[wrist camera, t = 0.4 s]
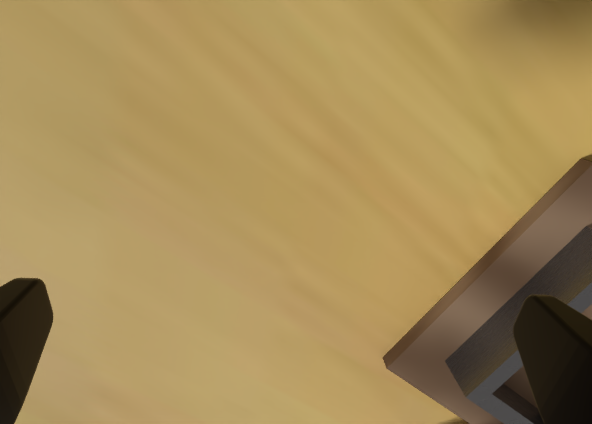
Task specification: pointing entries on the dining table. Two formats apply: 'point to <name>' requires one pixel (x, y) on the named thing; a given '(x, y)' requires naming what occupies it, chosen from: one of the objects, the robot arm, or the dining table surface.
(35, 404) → the dining table surface
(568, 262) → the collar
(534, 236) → the socket board
